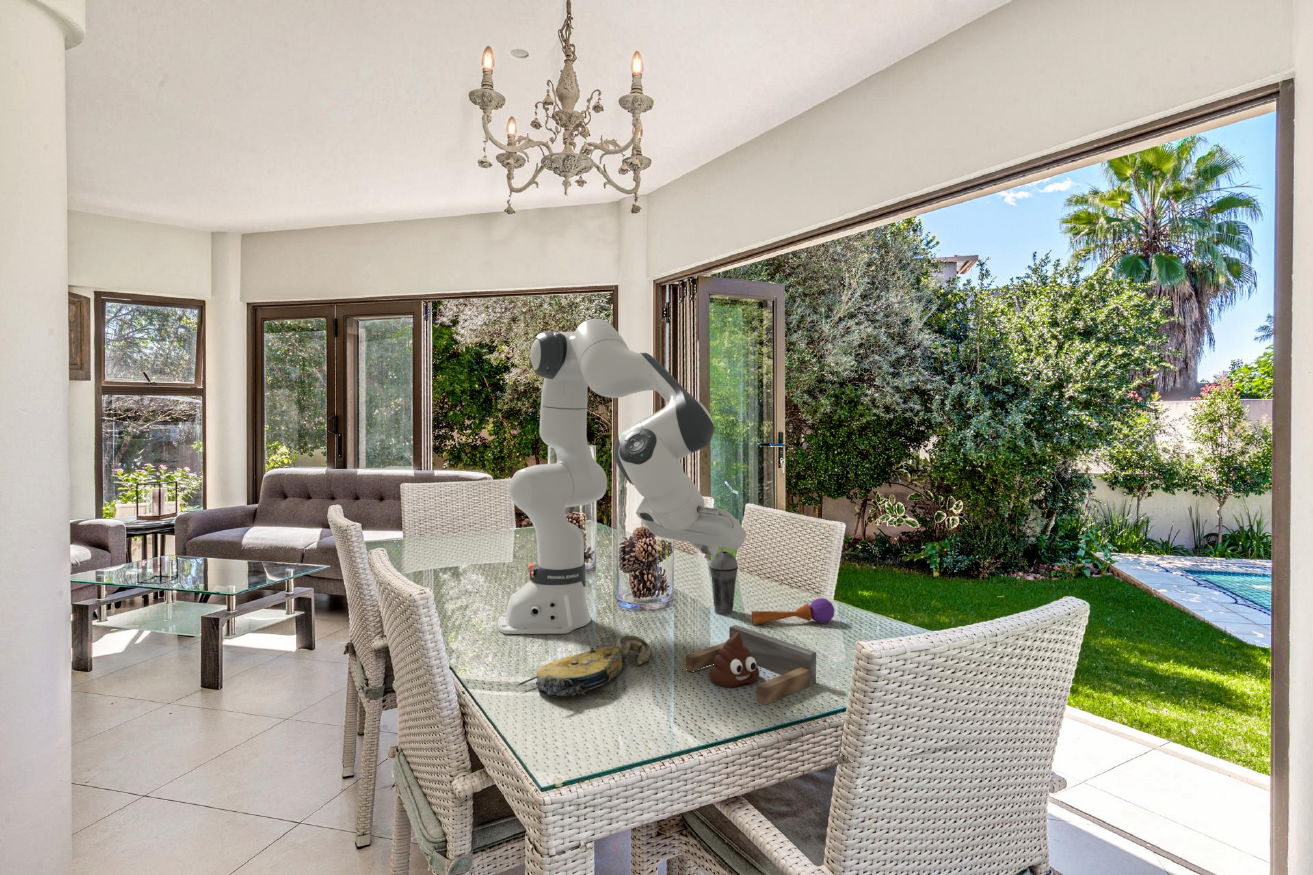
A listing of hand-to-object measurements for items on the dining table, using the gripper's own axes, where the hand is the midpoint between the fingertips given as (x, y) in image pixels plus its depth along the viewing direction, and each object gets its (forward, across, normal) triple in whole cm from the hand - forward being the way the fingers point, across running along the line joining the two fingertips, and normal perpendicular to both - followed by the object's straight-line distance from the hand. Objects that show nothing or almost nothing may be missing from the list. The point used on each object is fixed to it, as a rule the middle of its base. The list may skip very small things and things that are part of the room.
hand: (710, 551), depth 131 cm
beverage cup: (+44, +24, -10) cm, 52 cm away
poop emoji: (+22, -2, +14) cm, 27 cm away
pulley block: (+11, +19, +26) cm, 34 cm away
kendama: (+48, +6, -13) cm, 50 cm away
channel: (+24, -4, +12) cm, 27 cm away
